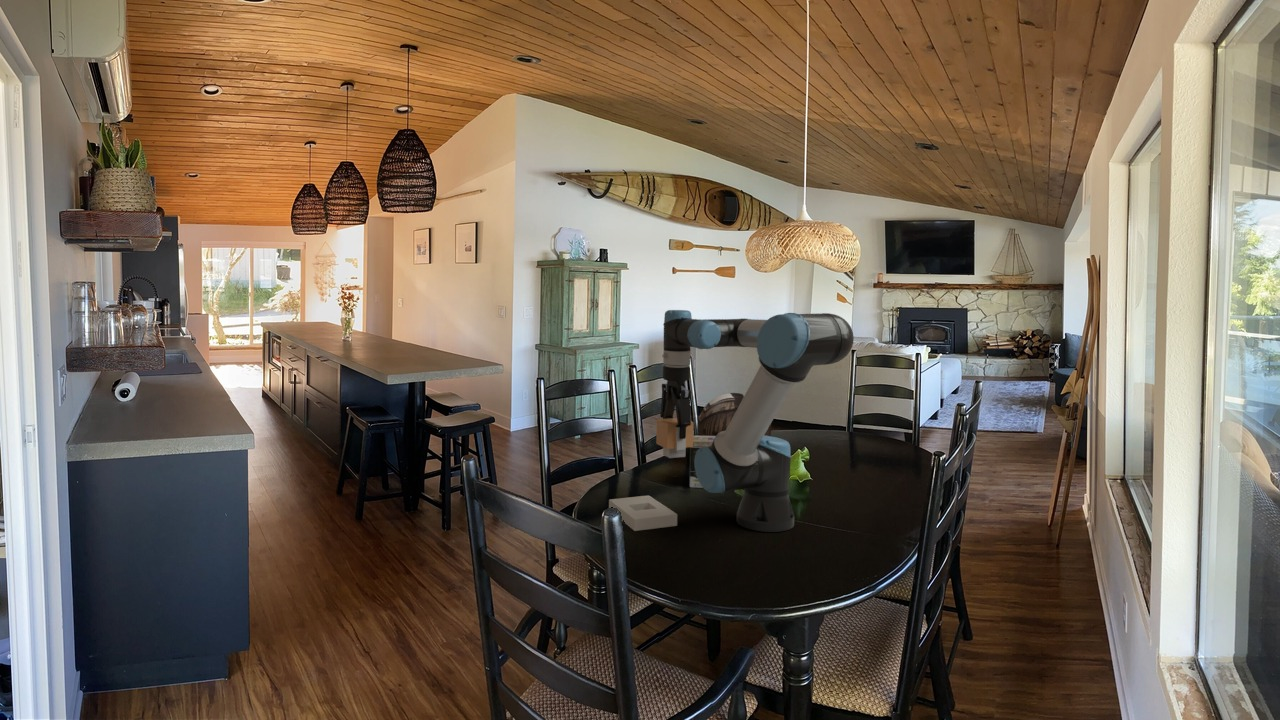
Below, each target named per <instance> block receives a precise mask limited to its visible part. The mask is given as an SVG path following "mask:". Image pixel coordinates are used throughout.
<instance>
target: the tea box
mask: <svg viewBox="0 0 1280 720" xmlns="http://www.w3.org/2000/svg"><path fill="white" fill-rule="evenodd" d="M715 437H716V436H698V435H694V434H693V447H689V487H690V488H699V489H704V488H703V487H702V486H701V484H700V482H699V481H698V478H697V475H696V471H695V455H696V452H697V451H698V450H699V449H700V448H703V447H705V446H706V447H709V446H711V444H712V443H713V441H714V439H715Z"/></svg>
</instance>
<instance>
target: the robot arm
mask: <svg viewBox="0 0 1280 720" xmlns="http://www.w3.org/2000/svg"><path fill="white" fill-rule="evenodd" d="M663 319H664V321H663V354H662V358H663V361H662V362H663V365H664V366H663V367H662V379H663V380H664V381H667V382H666V383H662V384H661V402H660V412H659V413H660V419H670V418H674V417H673V416H674V413H676V414H675V415H676V418H677V422H678V425H676V450H686V449H687V447H686V427H687V426H690V425H691V421H692V420H691V419H692V418H691V413H692V412H691V395H692V390H691V389H687V388H686V382H687V381H689V380H690V379H691V368H690V365H691V355H692V353H691V348H695V349H699V350H710V349H713V348H725V347H726V348H727V347H728V348H729V347H730V348H731V347H732V348H733V347H738V348H739V347H740V348H755V349H756V350H757V351H756V352H757V355H758V362H759V364H760V366H759V368H758V369H757V371H756V374H755V376H754V378H753V379H752V381H751V382H750V385H749V387H748V388H747V390H746V392H745V394H744V395H745V396H744V398H743V400H742V401H741V403H740V405H739V407H738V409H737V411H736V413H735V414H734V416H733V418H732V420H731V422H730V424H729V426H728V427H727V429H726V431H722V432H720V433H718V434H717V435H716V437H715V439H714V441H713V443H712V444H711V446H709V447H706V446H705V447H703V448H700V449H699V450H698V451H697V452H696V455H695V471H696V475H697V478H698V481H699V482H700V484H701V486H702V487H703V488H702V489H704V490H705V491H706V492H708V493H711V494H717V493H719V494H724V493H726V492H732V491H738V490H743V495H742V498H741V499H740V500H741V501H740V503H739V506H738V508H737V511H736V523H737V524H738V525H739V526H741V527H742V528H745V529H748V530H752V531H756V532H757V531H758V532H766V533H777V532H785V531H786V532H787V531H789V530H791V529H792V528H794V526H795V514H794V511H793V508H792V503H791V500H790V497H789V496H790V494H789V493H790V477H791V475H790V474H791V459H792V456H791V445H790V443H789V441H787V440H785V439H783V438H779V437H777V436H776V437H775V436H765V435H764V434H765V433H766V431H767V429H768V427H769V426H770V424H771V425H772V422H773V421H774V419H775V417H776V415H777V413H778V412H779V410H780V408H781V407H782V405H783V403H784V401H786V399H787V397H788V395H789V392H791V390H792V388H793V386H794V384H799V383H802V382H803V381H804V380H805V379H806V378H807V377H808V374H809V372H810V371H811V369H812V367H814V366H825V365H832V364H836V363H838V362H840V361H842V360H844V359H845V358H846V357H847V356H848V355H849V353H850V352H851V351H852V348H853V345H854V332H853V329H852V327H851V325H850V324H849V322H848V321H847V320H846V319H844V318H843V317H841V316H840V315H837V314H835V313H827V312H826V313H825V312H824V313H823V312H822V313H795V312H787V313H786V312H785V313H783V314H776V315H772V316H770V317H769V318H767V319H754V318H730V319H729V318H725V319H723V318H722V319H719V318H717V319H716V318H713V319H707V318H706V319H701V318H700V319H697V318H693V317H692V312H691V311H690V310H685V309H668V310H666V311H665V312H664V318H663Z"/></svg>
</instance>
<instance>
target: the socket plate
mask: <svg viewBox="0 0 1280 720" xmlns="http://www.w3.org/2000/svg"><path fill="white" fill-rule="evenodd" d="M611 507H613V508H617V509H618V510H619V511H620V512H621V516H622V520H621V521H622V522H623V520H624V522H625V523H624V522H623V523H624V524H625V525H627V526H628V527H629V528H630V529H631V530H633V531H634V532H637V531H644V530H645V531H646V530H654V529H660V528H662V529H663V528H670V527H676V526H678V513H676V512H675V511H673V510H671V508H668V506H666V505H664V504H662V503H661V502H660V501H658V500H656V499H655V498H653V497H652V496H650V495H640V496H631V497H621V498H612V499H608V509H609V508H611Z"/></svg>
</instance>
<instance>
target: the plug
mask: <svg viewBox="0 0 1280 720" xmlns="http://www.w3.org/2000/svg"><path fill="white" fill-rule="evenodd" d="M694 424H695V423H694V421H692V420H691V425H690V426H687V427H686V448H690V447H693V435H694ZM676 425H678V422H677V417H673V418H670V419H663V418H658V419H656V442H655V443H656V445H658V446H661V448H662V449H663V450H662V451H663V452H662V453H663V454H662V455H663V456H664V457H666V458H668V459H674V458H686V454H687V453H686V450H676Z"/></svg>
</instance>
